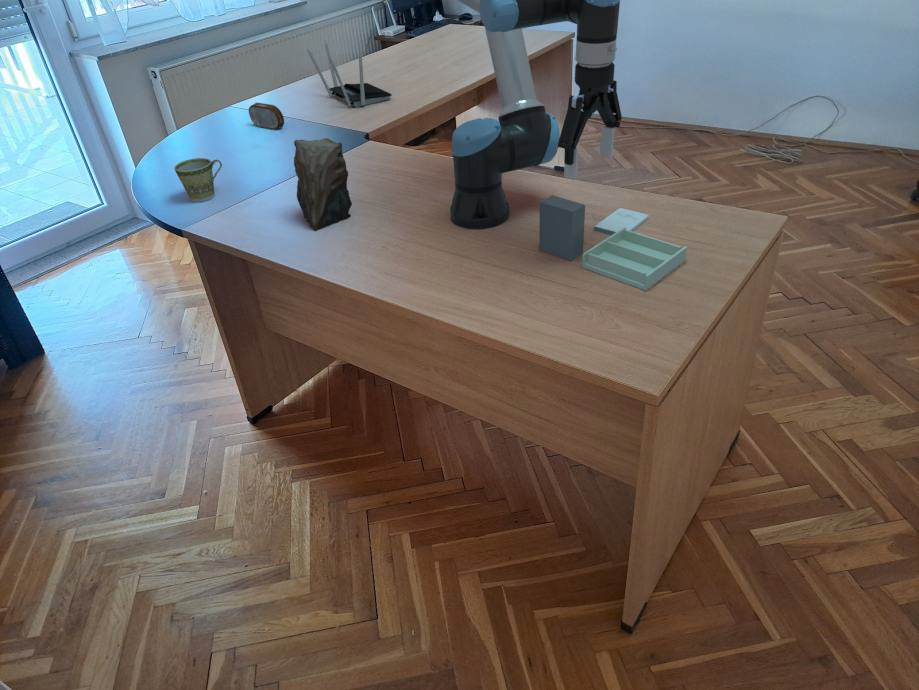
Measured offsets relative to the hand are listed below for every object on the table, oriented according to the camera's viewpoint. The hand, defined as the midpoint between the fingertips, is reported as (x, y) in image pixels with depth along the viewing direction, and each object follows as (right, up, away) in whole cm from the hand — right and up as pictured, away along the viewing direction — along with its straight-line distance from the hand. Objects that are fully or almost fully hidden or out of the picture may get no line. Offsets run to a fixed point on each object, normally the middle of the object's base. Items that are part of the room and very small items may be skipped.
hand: (588, 167), depth 145 cm
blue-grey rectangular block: (-4, -16, +12) cm, 21 cm away
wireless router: (-69, +58, +123) cm, 153 cm away
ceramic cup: (-100, +5, +53) cm, 113 cm away
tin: (-96, +40, +101) cm, 146 cm away
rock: (-63, -5, +35) cm, 72 cm away
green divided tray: (+11, -20, +5) cm, 23 cm away
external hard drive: (+12, -9, +21) cm, 26 cm away
